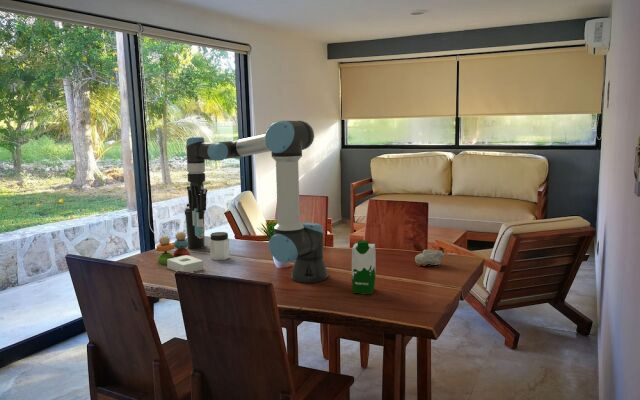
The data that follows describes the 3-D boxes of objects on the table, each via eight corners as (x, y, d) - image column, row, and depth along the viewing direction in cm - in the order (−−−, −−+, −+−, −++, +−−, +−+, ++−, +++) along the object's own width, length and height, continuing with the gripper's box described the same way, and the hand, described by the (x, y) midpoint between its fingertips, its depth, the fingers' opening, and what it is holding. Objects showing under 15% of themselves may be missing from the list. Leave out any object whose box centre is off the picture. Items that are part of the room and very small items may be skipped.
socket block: (203, 269, 229) (203, 260, 229) (183, 274, 222) (183, 265, 222) (187, 263, 239) (186, 255, 239) (167, 267, 232) (166, 259, 232)
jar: (232, 258, 247) (231, 233, 246) (217, 261, 242) (216, 236, 240) (223, 254, 254) (222, 230, 252) (208, 257, 249) (207, 233, 247)
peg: (203, 235, 229) (202, 208, 227) (197, 236, 226) (196, 209, 225) (199, 233, 231) (198, 207, 229) (193, 235, 229) (192, 208, 227)
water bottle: (196, 250, 264) (193, 205, 260) (182, 247, 269) (179, 204, 266) (210, 246, 272) (208, 203, 269) (196, 243, 278) (194, 201, 274)
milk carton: (350, 294, 194) (350, 242, 191) (354, 287, 203) (354, 237, 200) (373, 296, 192) (373, 243, 189) (376, 288, 201) (376, 238, 198)
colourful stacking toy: (188, 265, 237) (187, 238, 235) (153, 263, 240) (152, 237, 238) (204, 255, 254) (203, 230, 252) (172, 254, 258) (170, 229, 256)
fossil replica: (411, 264, 234) (422, 272, 225) (411, 247, 232) (422, 254, 223) (435, 259, 238) (447, 267, 229) (435, 242, 236) (447, 249, 227)
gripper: (213, 173, 221) (215, 227, 225) (194, 170, 232) (196, 221, 236) (198, 174, 216) (200, 229, 220) (179, 171, 227) (181, 224, 231)
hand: (198, 225), depth 228 cm, fingers closed on peg, 3 cm apart
